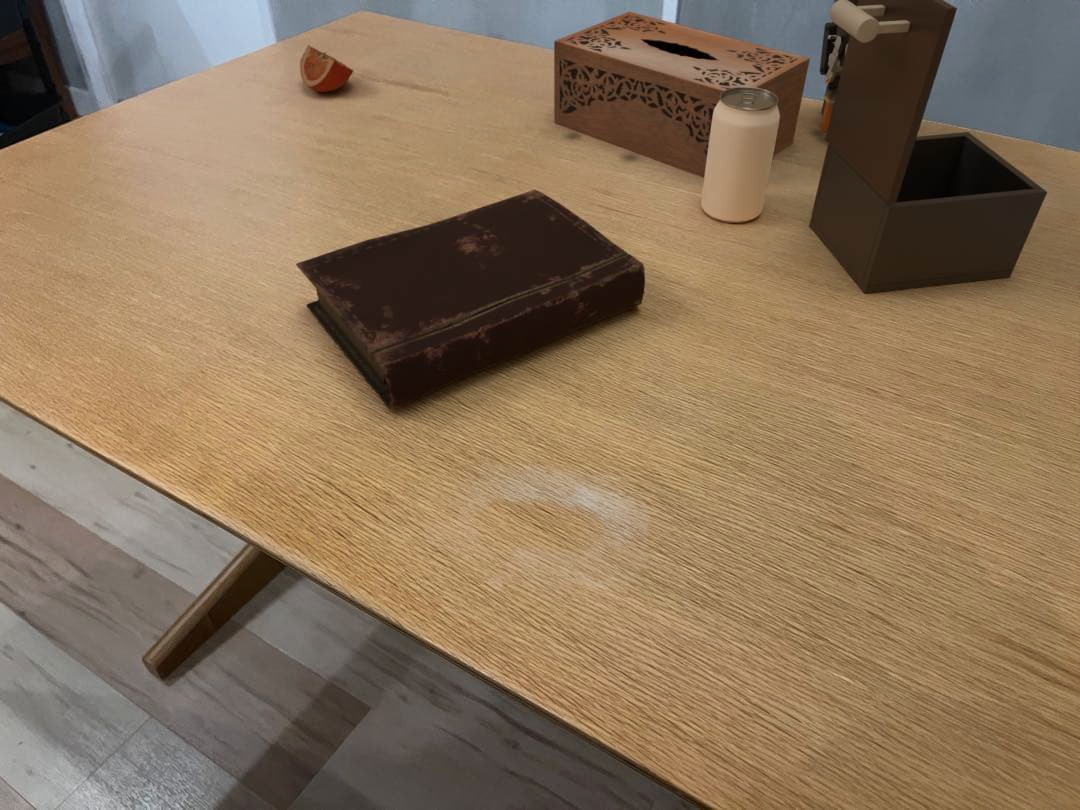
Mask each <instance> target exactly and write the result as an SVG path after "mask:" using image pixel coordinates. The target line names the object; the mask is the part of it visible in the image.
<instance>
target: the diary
mask: <svg viewBox="0 0 1080 810" xmlns="http://www.w3.org/2000/svg"><path fill="white" fill-rule="evenodd" d="M295 266H296V267H297V268H298V269H299V270H300V272H301V273H302V274H303V276H305V277H306V279H307V280H308V281H309V282H310V283H311V284H312V286H313V287H314V288H315V290H316V295H317V299H318V300H315V301H312V302H309V303H306V307H307V309H308V310H309V312H311V314H312V316H314V318H315V319H316V320H317V321H318V322H319V324H320V325H321V326H322V327H323V329H324V330H325V332H326V333H327V334H329V336H330V337H331V339H332V340H333V341H334V343H335V344H336V345H337V347H339V349H340V350H341V351H342V353H343V354H344V355H345V356H346V358H347V359H348V360H349V361H350V362H351V364H352V365H353V366H354V368H355V369H356V370H357V371H358V373H359V374H360V375H361V376H362V377H363V379H364V380H365V381H366V382H367V384H368V386H370V388H371V389H372V390H373V391H374V393H375V394H376V395H377V396H378V398H379V399H380V400H381V401H382V403H384V405H385V407H387V409H388V410H389V411H392V410H394V409H397V408H399V407H401V406H404V405H406V404H409V403H410V402H413V401H415V400H417V399H420V398H422V397H424V396H426V395H428V394H430V393H433V392H434V391H437V390H439V389H441V388H444V387H446V386H448V385H450V384H452V383H455V382H456V381H459V380H461V379H463V378H466V377H469V376H471V375H473V374H476V373H478V372H481V371H483V370H486V369H489V368H491V367H494V366H496V365H499V364H502V363H504V362H506V361H509V360H511V359H514V358H517V357H520V356H522V355H524V354H527V353H529V352H532V351H533V350H536V349H538V348H540V347H543V346H544V345H547V344H549V343H551V342H553V341H555V340H557V339H560V338H562V337H564V336H566V335H568V334H570V333H573V332H576V331H577V330H579V329H581V328H583V327H586V326H589V325H591V324H594V323H597V322H599V321H602V320H605V319H607V318H609V317H613V316H615V315H617V314H620V313H622V312H626V311H628V310H631V309H633V308H636V307H638V306H641V304H643V299H644V295H645V285H646V274H645V266H644V264H643V262H641V261H640V260H639V259H637V258H636V257H634V256H633V255H631V253H629V254H628V252H627V251H626V250H624V249H623V248H621V247H620V246H619V245H617V244H616V243H614V242H613V241H612V240H610V239H609V238H608V237H606V236H605V235H604V234H602V233H601V232H600V231H599V230H598V229H596V228H595V227H594V226H593V225H591V224H590V223H589V222H587V221H586V220H585V219H583V218H581V217H580V216H579V215H578V214H576V213H574V212H573V211H571V209H568V208H567V207H566V206H564V205H563V204H562V203H560V202H559V201H556V200H555V199H553V198H552V197H549V196H548V195H547V194H545V193H544V192H542V191H539V190H537V189H532V190H529V191H526V192H523V193H520V194H517V195H514V196H510V197H507V198H505V199H502V200H499V201H496V202H493V203H490V204H487V205H484V206H481V207H477V208H475V209H472V210H468V211H465V212H463V213H460V214H459V213H458V214H457V215H454V216H450V217H448V218H445V219H441V220H437V221H436V222H433V223H430V224H426V225H423V226H418V227H414V228H410V229H406V230H402V231H397V232H394V233H393V232H392V233H390V234H386V235H381V236H377V237H372V238H369V239H365V240H362V241H359V242H356V243H354V244H351V245H347V246H345V247H342V248H339V249H336V250H332V251H330V252H327V253H324V254H320V255H318V256H315V257H312V258H309V259H306V260H303V261H299V262H297V263H296V264H295Z"/></svg>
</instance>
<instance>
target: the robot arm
mask: <svg viewBox="0 0 1080 810" xmlns="http://www.w3.org/2000/svg"><path fill="white" fill-rule="evenodd" d="M837 1H838V0H834V1H833V4H834V3H835V2H837ZM848 1H850V2H851V3H853V4H854V5H856V6H857V4H858V0H848ZM849 38H850V34H849V33H848V32H846V31H845V30H844V29H842V28H841V27H840V26H838V25H837V24H836V23H834V22H833V21H831V22H829V21H828V22H826V23H825V24H824V29H823V37H822V45H821V47H822V48H821V56H820V63H819V74H820V75H821V76H825V77H824V85H825V86H826V88H825V92H826V91H828V90H831V89H836V88H838V84H839V80H840V75H841V71H842V67H843V63H844V59H845V54H846V50H847V46H848V42H849ZM825 105H826V101H825V99H824V98H823V102H822V107H821V112H820V114H821V115H822V116H823V114H824V110H825Z"/></svg>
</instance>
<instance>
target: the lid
mask: <svg viewBox="0 0 1080 810" xmlns="http://www.w3.org/2000/svg"><path fill="white" fill-rule="evenodd" d="M957 10H958V7H956V6H954V5H952V4H951V3H949V2H947V1H945V0H858V4H857V6H856V5H854V4H853V3H851V2H850V1H848V0H838V1H837V2H835V3H834V2H833V4H832V6H831V7H830V9H829V18H830V20H831V22H834V23H836V24H837V25H838V26H840V27H841V28H842V29H844V30H845V31H846V32H848V33H849V34H850V38H849V42H848V46H847V50H846V54H845V59H844V63H843V67H842V71H841V75H840V80H839V84H838V88H837V92H836V96H835V101H834V105H833V109H832V113H831V117H830V122H829V126H828V130H827V132H826V133H825V134H826V135H825V141H826V143H827V144H828V145H829V144H830V145H831V146H832V147H833V148H834V149H835V150H836V151H837V152H838V153H839V154H840V155H841V156H842V157H843V158H844V159H845V160H846V161H847V162H848V163H849V164H850V165H851V166H852V167H853V168H854V169H855V170H856V171H857V172H858V173H859V174H860V175H861V176H862V177H863V178H864V179H865V180H866V181H867V182H868V183H869V184H870V185H871V186H872V187H873V188H874V189H875V190H876V191H877V192H878V193H879V194H880V195H881V196H882V197H883V198H884V199H885V200H886V201H887V202H888V203H891V202H896V201H897V198H898V195H899V191H900V188H901V185H902V182H903V179H904V176H905V172H906V169H907V166H908V163H909V160H910V157H911V153H912V150H913V147H914V144H915V141H916V138H917V136H918V134H919V131H920V128H921V124H922V122H923V118H924V115H925V112H926V109H927V106H928V103H929V99H930V97H931V93H932V90H933V87H934V83H935V80H936V77H937V74H938V71H939V68H940V64H941V61H942V58H943V56H944V52H945V48H946V46H947V42H948V39H949V36H950V33H951V31H952V30H951V29H952V27H953V24H954V21H955V17H956V14H957Z"/></svg>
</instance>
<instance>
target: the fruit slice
mask: <svg viewBox="0 0 1080 810" xmlns="http://www.w3.org/2000/svg"><path fill="white" fill-rule="evenodd" d="M299 64H300V66H299V69H300V71H299V72H300V77H301V80H302V82H303V84H305V86H306V87H308V88H309V89H311V90H313V91H315V92H319V93H329V91H330V92H333V91H336V90H338V89H340V88H341V87H342V86H343V85H345V84H346V83H347V82H348V81H349V79H350V78H351V76H352V74H353V73H354V70H353V69H352V68H350V67H349V66H348V65H346V64H345V63H343V62H341V61H339V60H338V59H336V58H335V57H333V56H330V55H328V54H327V51H324V52H322V51H320V50H318V49H317V48H315V47H313V46H311V45H307V46H306V47H305V50H304V53H303V54H302V57H301V58H300V61H299Z"/></svg>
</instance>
